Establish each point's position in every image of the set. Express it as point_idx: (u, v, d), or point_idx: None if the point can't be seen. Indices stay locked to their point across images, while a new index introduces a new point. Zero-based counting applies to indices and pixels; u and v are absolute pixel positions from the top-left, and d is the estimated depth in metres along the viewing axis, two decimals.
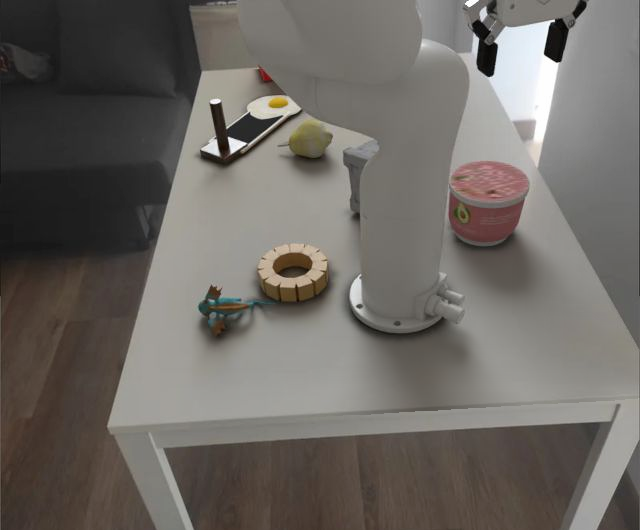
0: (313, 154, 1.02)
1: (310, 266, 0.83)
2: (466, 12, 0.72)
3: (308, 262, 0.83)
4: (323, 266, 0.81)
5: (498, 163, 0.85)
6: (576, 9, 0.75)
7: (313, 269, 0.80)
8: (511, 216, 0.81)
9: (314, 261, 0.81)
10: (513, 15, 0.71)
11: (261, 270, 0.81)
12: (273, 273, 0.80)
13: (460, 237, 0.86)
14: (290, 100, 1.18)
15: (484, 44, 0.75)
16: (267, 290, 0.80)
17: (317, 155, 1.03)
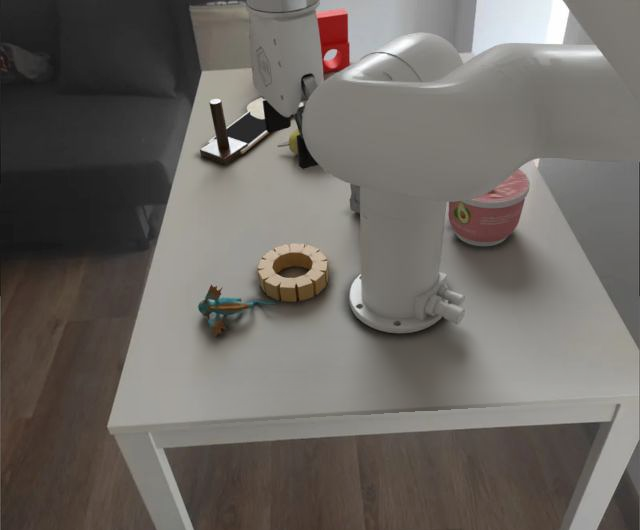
0: None
1: (310, 266, 0.83)
2: None
3: (308, 262, 0.83)
4: (323, 266, 0.81)
5: None
6: None
7: (313, 269, 0.80)
8: (511, 216, 0.81)
9: (314, 261, 0.81)
10: (254, 78, 0.70)
11: (261, 270, 0.81)
12: (273, 273, 0.80)
13: (460, 237, 0.86)
14: None
15: None
16: (267, 290, 0.80)
17: None
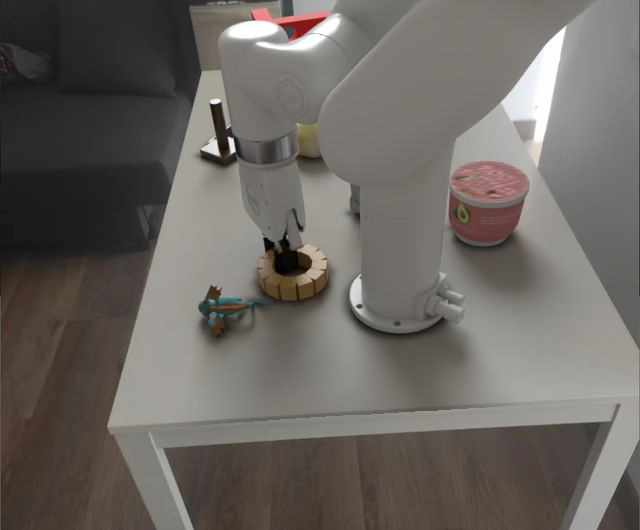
0: (313, 154, 1.02)
1: (310, 265, 0.83)
2: None
3: (308, 261, 0.83)
4: (323, 265, 0.81)
5: (498, 163, 0.85)
6: (282, 242, 0.79)
7: (313, 268, 0.80)
8: (511, 216, 0.81)
9: (314, 260, 0.81)
10: (244, 203, 0.80)
11: (261, 269, 0.81)
12: (273, 272, 0.80)
13: (460, 237, 0.86)
14: None
15: None
16: (267, 289, 0.80)
17: (317, 155, 1.03)
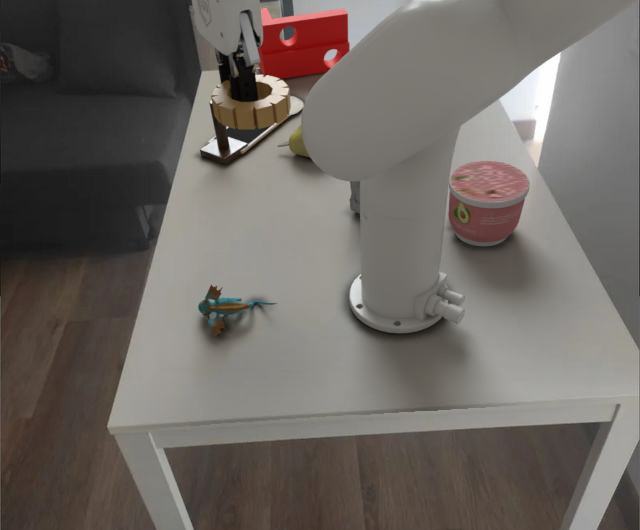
0: None
1: None
2: None
3: (268, 93, 0.75)
4: (284, 92, 0.73)
5: (498, 163, 0.85)
6: (238, 62, 0.71)
7: (273, 94, 0.72)
8: (511, 216, 0.81)
9: (274, 88, 0.73)
10: (196, 21, 0.72)
11: (215, 96, 0.73)
12: (228, 98, 0.72)
13: (460, 237, 0.86)
14: (290, 100, 1.18)
15: None
16: (222, 117, 0.72)
17: None
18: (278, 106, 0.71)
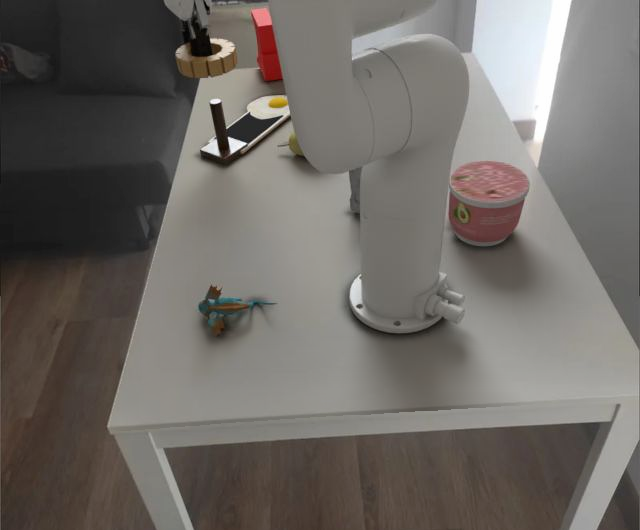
0: None
1: None
2: None
3: (220, 52, 0.97)
4: (231, 49, 0.94)
5: (498, 163, 0.85)
6: None
7: (222, 51, 0.94)
8: (511, 216, 0.81)
9: (224, 47, 0.95)
10: None
11: (178, 53, 0.94)
12: (188, 55, 0.94)
13: (460, 237, 0.86)
14: None
15: None
16: (183, 69, 0.94)
17: None
18: (225, 59, 0.93)
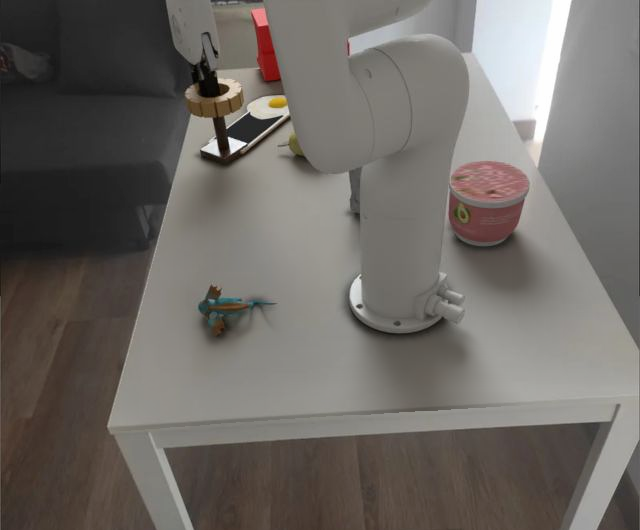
0: None
1: None
2: None
3: (227, 91, 1.01)
4: (238, 90, 0.99)
5: (498, 163, 0.85)
6: (203, 69, 0.97)
7: (229, 92, 0.99)
8: (511, 216, 0.81)
9: (231, 87, 1.00)
10: (173, 40, 0.99)
11: (187, 94, 0.99)
12: (197, 95, 0.98)
13: (460, 237, 0.86)
14: None
15: None
16: (192, 109, 0.98)
17: None
18: (232, 100, 0.98)
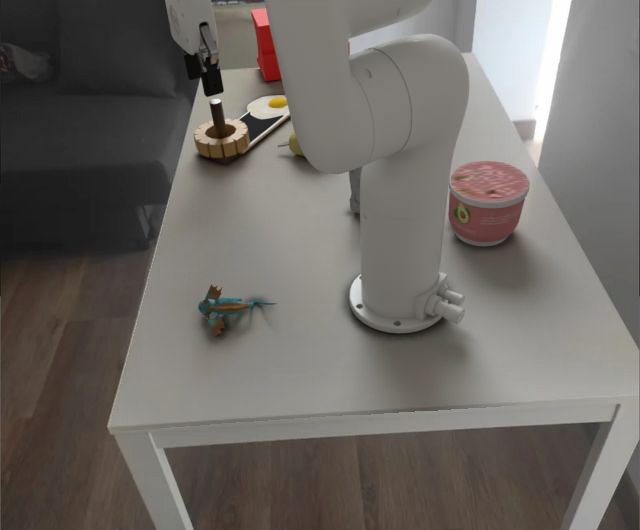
0: None
1: None
2: None
3: (234, 131, 1.07)
4: (243, 131, 1.05)
5: (498, 163, 0.85)
6: None
7: (236, 133, 1.04)
8: (511, 216, 0.81)
9: (237, 128, 1.05)
10: (171, 31, 0.98)
11: (196, 135, 1.05)
12: (205, 136, 1.04)
13: (460, 237, 0.86)
14: None
15: (187, 53, 1.02)
16: (200, 149, 1.04)
17: None
18: (238, 141, 1.03)
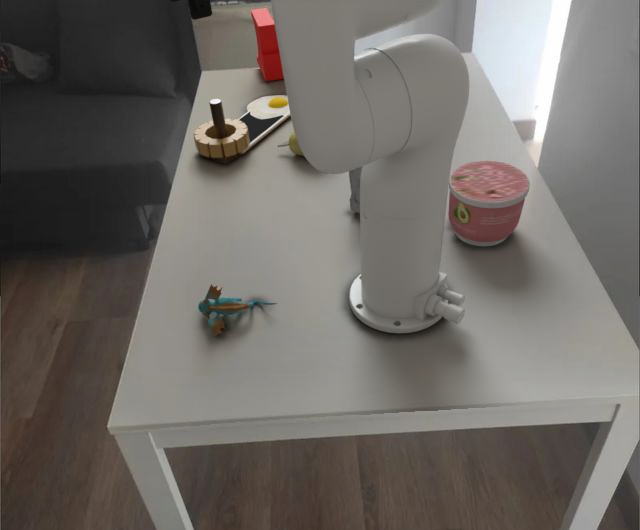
0: None
1: None
2: None
3: (234, 131, 1.07)
4: (243, 131, 1.05)
5: (498, 163, 0.85)
6: None
7: (236, 133, 1.04)
8: (511, 216, 0.81)
9: (237, 128, 1.05)
10: None
11: (196, 135, 1.05)
12: (205, 136, 1.04)
13: (460, 237, 0.86)
14: None
15: None
16: (200, 149, 1.04)
17: None
18: (238, 141, 1.03)
